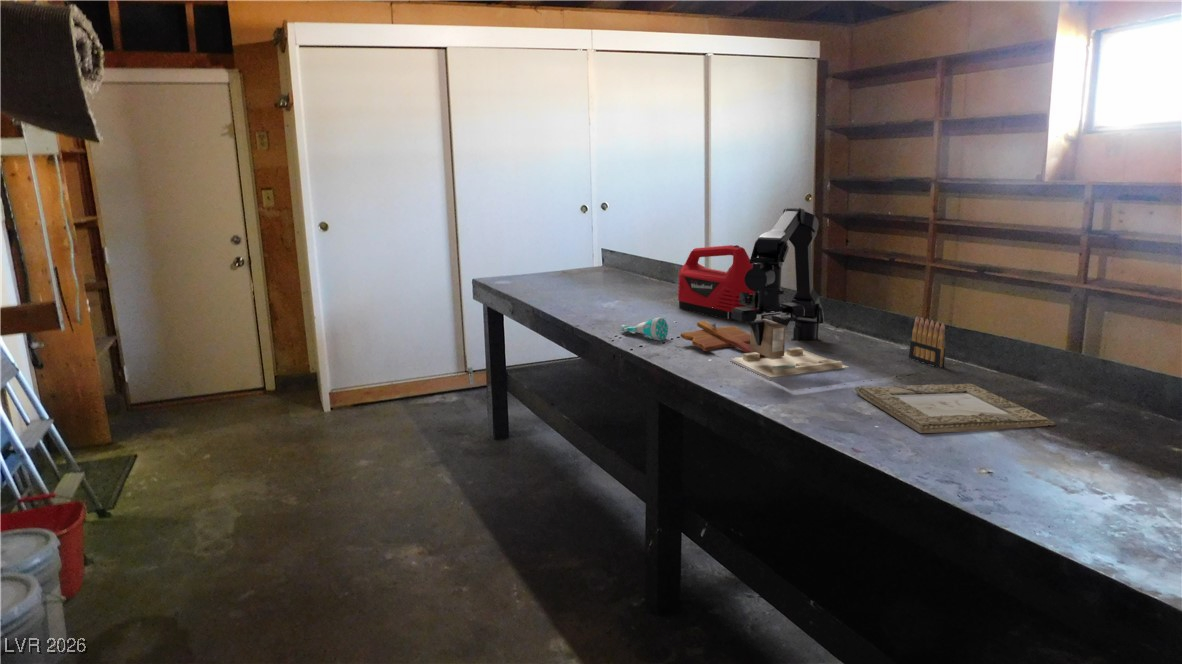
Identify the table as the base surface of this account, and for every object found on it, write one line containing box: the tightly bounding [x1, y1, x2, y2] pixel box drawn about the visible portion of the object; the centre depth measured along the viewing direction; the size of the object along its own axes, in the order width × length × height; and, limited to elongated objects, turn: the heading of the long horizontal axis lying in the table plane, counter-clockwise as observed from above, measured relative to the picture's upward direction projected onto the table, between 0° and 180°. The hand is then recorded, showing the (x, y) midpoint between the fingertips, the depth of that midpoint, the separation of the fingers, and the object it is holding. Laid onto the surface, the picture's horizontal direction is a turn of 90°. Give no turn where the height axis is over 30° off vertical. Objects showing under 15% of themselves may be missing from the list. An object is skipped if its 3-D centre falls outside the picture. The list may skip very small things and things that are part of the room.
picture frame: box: [854, 382, 1056, 434], centre depth 160 cm, size 27×30×3 cm
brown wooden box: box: [749, 318, 787, 358], centre depth 190 cm, size 4×9×8 cm, turn 20°
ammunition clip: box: [908, 316, 946, 368], centre depth 195 cm, size 11×2×12 cm, turn 21°
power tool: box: [677, 244, 765, 321], centre depth 264 cm, size 16×40×25 cm, turn 33°
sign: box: [679, 320, 765, 358], centre depth 213 cm, size 20×6×30 cm
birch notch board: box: [729, 346, 849, 382], centre depth 194 cm, size 24×19×3 cm
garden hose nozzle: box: [620, 317, 669, 342], centre depth 233 cm, size 7×18×20 cm
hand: (766, 344), depth 191 cm, fingers closed on brown wooden box, 4 cm apart
